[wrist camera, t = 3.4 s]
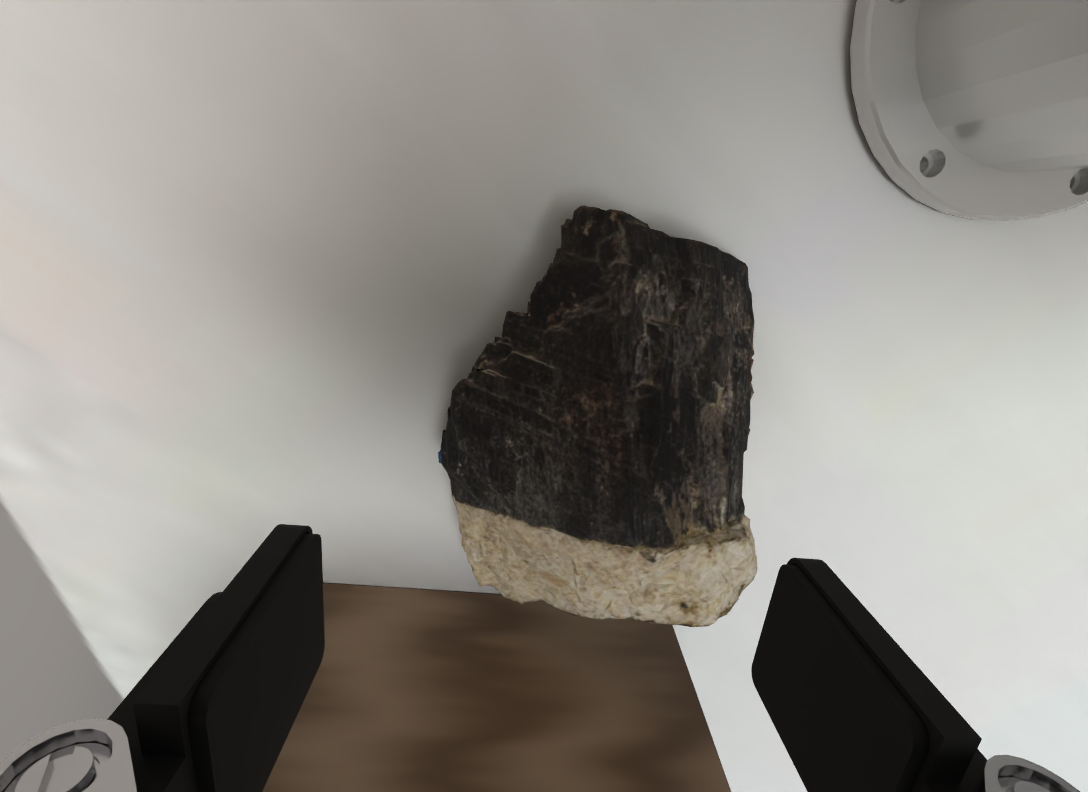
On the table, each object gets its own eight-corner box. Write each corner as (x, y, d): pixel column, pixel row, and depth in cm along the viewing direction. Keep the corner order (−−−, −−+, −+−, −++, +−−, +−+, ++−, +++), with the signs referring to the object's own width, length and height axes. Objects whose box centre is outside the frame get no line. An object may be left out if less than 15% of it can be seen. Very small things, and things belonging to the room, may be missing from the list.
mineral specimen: (466, 689, 19) (316, 275, 13) (485, 552, 26) (393, 240, 20) (828, 636, 18) (841, 169, 12) (748, 509, 25) (733, 169, 19)
